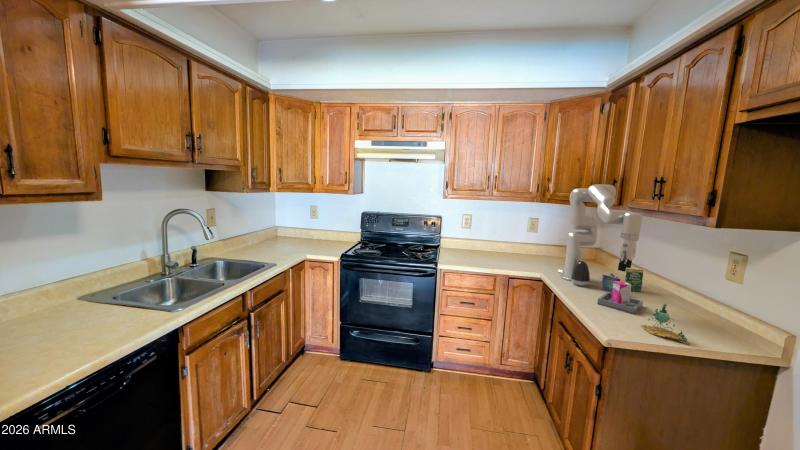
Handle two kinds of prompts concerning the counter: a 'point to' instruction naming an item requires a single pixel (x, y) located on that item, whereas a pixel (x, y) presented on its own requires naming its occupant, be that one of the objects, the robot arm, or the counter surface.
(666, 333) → the frog figurine
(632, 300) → the tray
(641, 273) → the coffee box
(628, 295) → the supplement box
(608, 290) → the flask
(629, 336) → the counter surface
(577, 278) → the dark grey domed cylinder
